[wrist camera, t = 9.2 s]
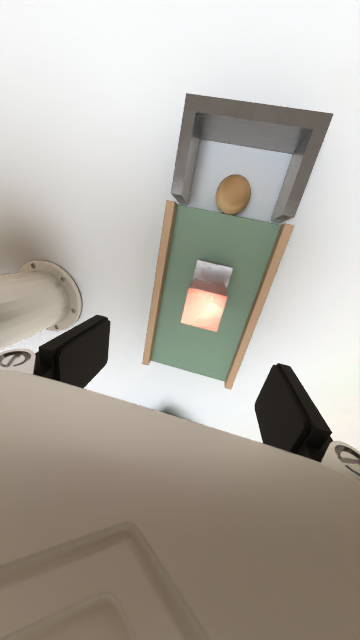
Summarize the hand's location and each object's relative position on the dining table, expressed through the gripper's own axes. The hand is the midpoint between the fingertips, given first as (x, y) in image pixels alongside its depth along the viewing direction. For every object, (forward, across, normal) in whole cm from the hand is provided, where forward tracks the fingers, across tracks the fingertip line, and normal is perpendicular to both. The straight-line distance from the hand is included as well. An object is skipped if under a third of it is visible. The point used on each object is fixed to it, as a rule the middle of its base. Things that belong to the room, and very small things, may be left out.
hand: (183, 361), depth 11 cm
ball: (+18, 0, -12) cm, 22 cm away
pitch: (+20, -1, +2) cm, 20 cm away
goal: (+20, 0, -14) cm, 25 cm away
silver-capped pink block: (+18, -1, -1) cm, 18 cm away
